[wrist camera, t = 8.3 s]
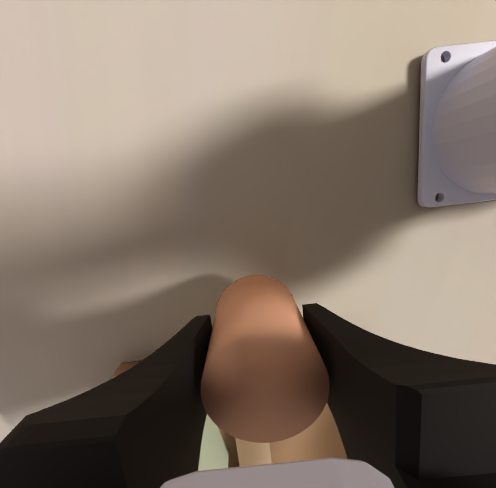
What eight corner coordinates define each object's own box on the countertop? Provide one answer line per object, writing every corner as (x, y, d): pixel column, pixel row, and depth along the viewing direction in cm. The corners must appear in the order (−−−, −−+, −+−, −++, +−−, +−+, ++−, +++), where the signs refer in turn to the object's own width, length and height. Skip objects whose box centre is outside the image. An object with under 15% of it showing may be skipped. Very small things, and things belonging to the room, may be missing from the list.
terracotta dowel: (293, 271, 12) (326, 324, 8) (298, 344, 13) (331, 435, 8) (211, 280, 12) (190, 339, 8) (221, 353, 13) (210, 449, 8)
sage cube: (207, 403, 16) (191, 496, 11) (228, 452, 17) (223, 558, 12) (148, 422, 16) (107, 521, 11) (172, 469, 17) (144, 581, 12)
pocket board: (365, 336, 17) (383, 357, 15) (367, 469, 19) (383, 505, 17) (121, 363, 17) (103, 388, 15) (153, 493, 19) (141, 531, 17)
